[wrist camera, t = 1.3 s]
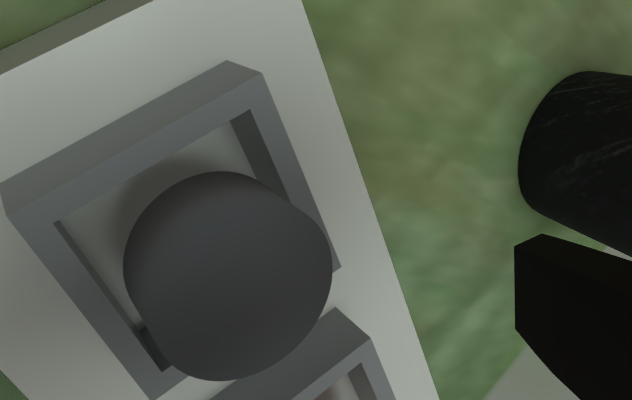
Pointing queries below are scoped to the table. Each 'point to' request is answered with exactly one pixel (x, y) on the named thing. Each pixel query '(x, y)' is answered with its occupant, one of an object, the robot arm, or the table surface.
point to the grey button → (226, 275)
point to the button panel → (161, 173)
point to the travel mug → (583, 157)
